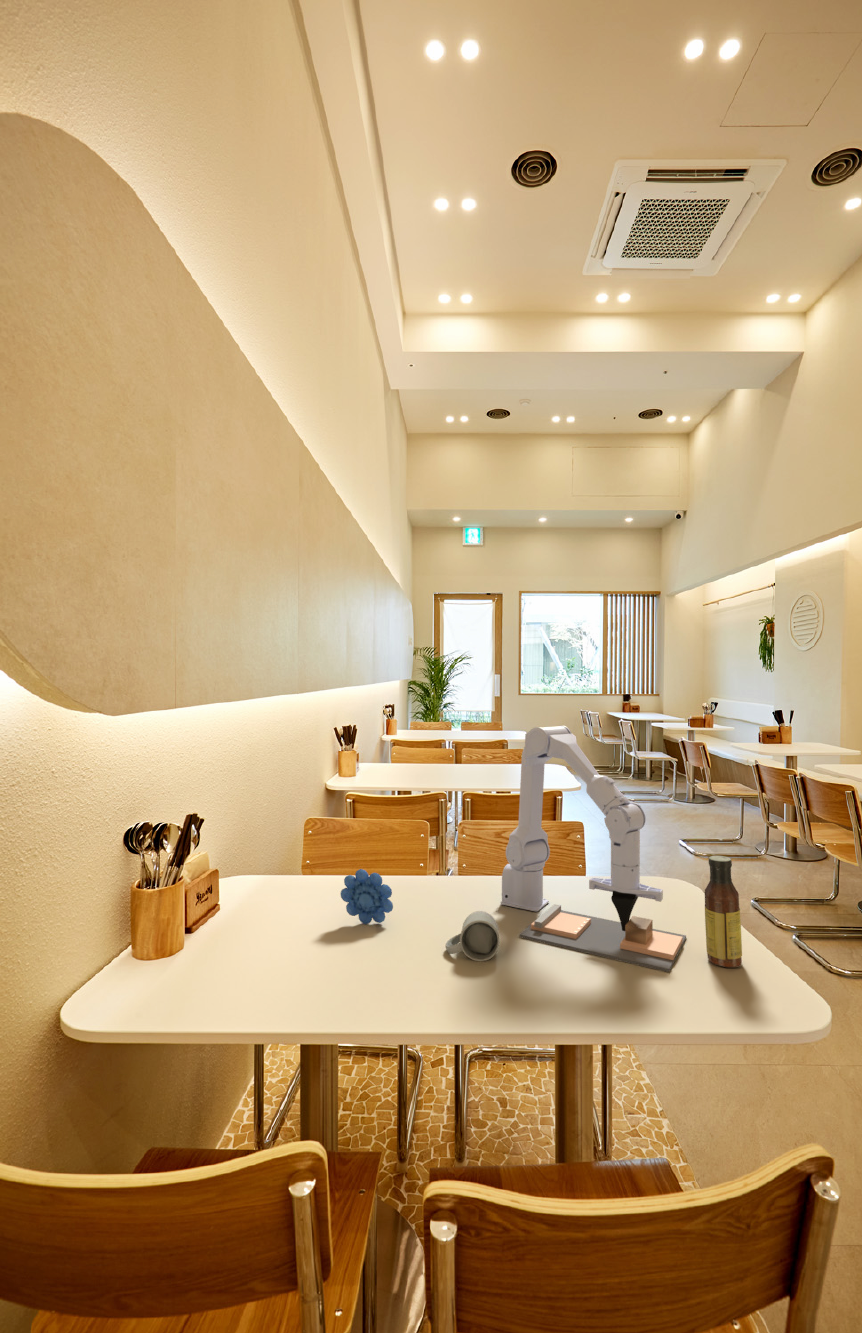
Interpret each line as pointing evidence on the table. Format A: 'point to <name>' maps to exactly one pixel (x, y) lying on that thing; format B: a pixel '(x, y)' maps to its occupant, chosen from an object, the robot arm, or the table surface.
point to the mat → (602, 943)
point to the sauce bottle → (722, 915)
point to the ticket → (561, 923)
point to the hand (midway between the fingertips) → (625, 929)
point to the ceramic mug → (476, 937)
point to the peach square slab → (649, 939)
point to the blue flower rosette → (367, 896)
